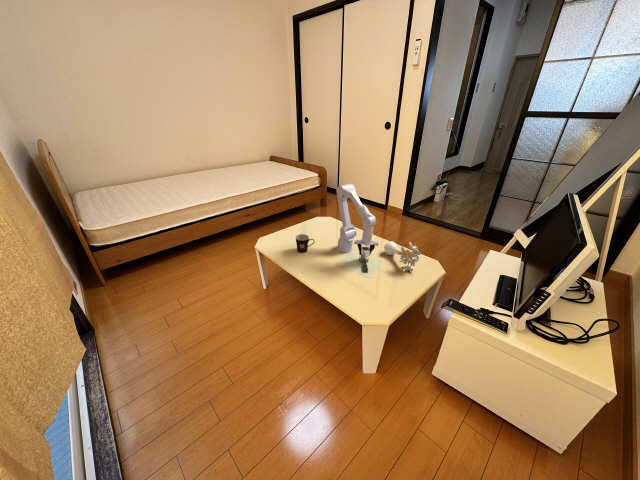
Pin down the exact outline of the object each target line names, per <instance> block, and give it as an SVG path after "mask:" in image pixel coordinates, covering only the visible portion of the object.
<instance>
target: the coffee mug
mask: <svg viewBox="0 0 640 480" xmlns="http://www.w3.org/2000/svg"><path fill="white" fill-rule="evenodd" d="M309 238H310V237H309V235H308V234H306V233H301V234H300V233H299V234H297V235H295V241H296V242H295V243H296V251H297V252H298V253H300V254H304V253H307V251H308V248H309V247H310V246H312V245H314V244H315V239H314V238H310V239H309ZM310 241H313V242H312V243H311V244H309V242H310Z"/></svg>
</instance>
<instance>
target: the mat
mask: <svg viewBox="0 0 640 480" xmlns="http://www.w3.org/2000/svg"><path fill="white" fill-rule="evenodd" d="M359 257H360V255H359V254H357V253H354V252H353V251H352V252H351V253H350V254H347V255H346V256H345V257H344V258H343V259H342V260H340V262H338V263H337V266H339V267H341V268H344V269H346V270H349V271H351V272H354V273H357V274H358V275H361V276H364V277H367V278H369V279H372V277H373V276H374V275H375V274H376V272H377V271H378V270H380V267H382V265H383V263H381V262H379V261H376V260H373V259H371V258H369V261H368V263H366V264H367V267H368V273H366V272H363V269H362V263H361V262H360V261H359Z"/></svg>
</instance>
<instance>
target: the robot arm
mask: <svg viewBox="0 0 640 480" xmlns="http://www.w3.org/2000/svg"><path fill="white" fill-rule="evenodd" d="M335 190H336V196H337V201H338V203H337V204H338V207H339V213H340V219H341V225H342V226H340V229H339V231H340V233H339V237H338V240H337V249H336V250H337V251H339V252H342V253H345V254H347V255H349V254H350V253H351V252H352V253H353V251H354V250H355V248H353V245H356V246H357V249H358V255H361V248H362V246H365V247H369V249H370V254H369V257H370V256H371V254H372V252H373V251H374V249H376V246H377V247H379V245H380V243H379V241H375V240H372V239H373V235H374V234H373V233H374V228H375V227H374V226H375V225H377V222H378V220H377V217H376V216H375V215H374V214H372V213H371V212H370V211H369V209H368V207H367V206H366V205H364V204H362V202H361V200H360V198H359V196H358V194H357V192H356V191H357V189H356V187H355V185H354V184H353V183H347V184H343V185H338V186H337V188H336V189H335ZM348 199H350V201H351V202H352V203H353V204H354V206H355V208H356V212H357V214H358V215H359V216H360V218H361V219H362V221H361V224H362V229H363V230H362V235H361V237H362V238H361V239H357V240H356V239H355V237H356V236H357V230H356V228H355V225H354V224H352V223H351V222H352V221H351V217H350V211H349V205H348Z"/></svg>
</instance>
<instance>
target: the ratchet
mask: <svg viewBox="0 0 640 480" xmlns="http://www.w3.org/2000/svg"><path fill="white" fill-rule="evenodd" d="M369 259H370V258H369ZM369 259H360V257H359V261H360V262H361V263H362V269H363V272H366V273H368V267H367V264H366V263H368V261H369Z"/></svg>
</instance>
